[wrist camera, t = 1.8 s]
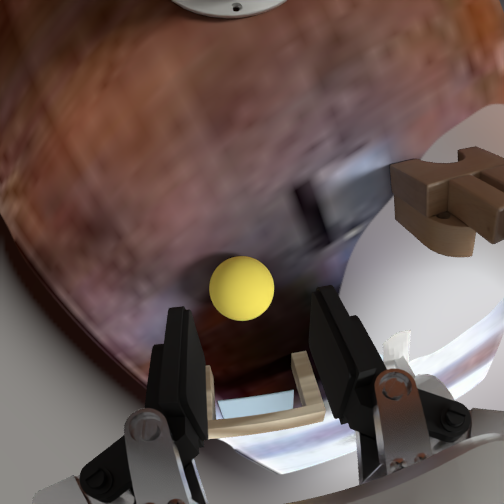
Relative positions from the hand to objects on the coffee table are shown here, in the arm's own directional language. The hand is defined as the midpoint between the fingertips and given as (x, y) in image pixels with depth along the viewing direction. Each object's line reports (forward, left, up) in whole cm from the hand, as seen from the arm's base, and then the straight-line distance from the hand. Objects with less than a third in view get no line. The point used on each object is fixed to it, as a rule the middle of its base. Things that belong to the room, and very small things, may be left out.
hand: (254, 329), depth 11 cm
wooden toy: (+1, +24, -18) cm, 30 cm away
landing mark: (+39, 0, -17) cm, 43 cm away
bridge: (+25, 0, -17) cm, 30 cm away
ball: (+9, 0, -14) cm, 17 cm away
